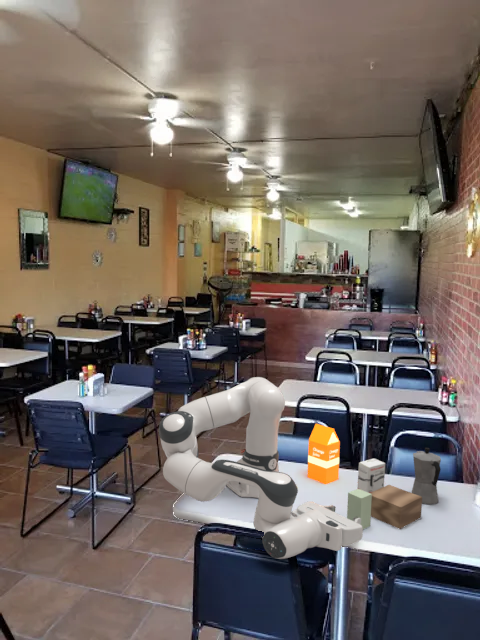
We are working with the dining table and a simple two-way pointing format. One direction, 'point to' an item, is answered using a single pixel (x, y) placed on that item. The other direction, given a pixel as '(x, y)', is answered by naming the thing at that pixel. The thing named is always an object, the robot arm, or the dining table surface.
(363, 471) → the ink box
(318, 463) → the orange juice
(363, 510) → the sage block
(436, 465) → the coffeepot
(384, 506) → the walnut block
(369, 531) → the dining table surface
